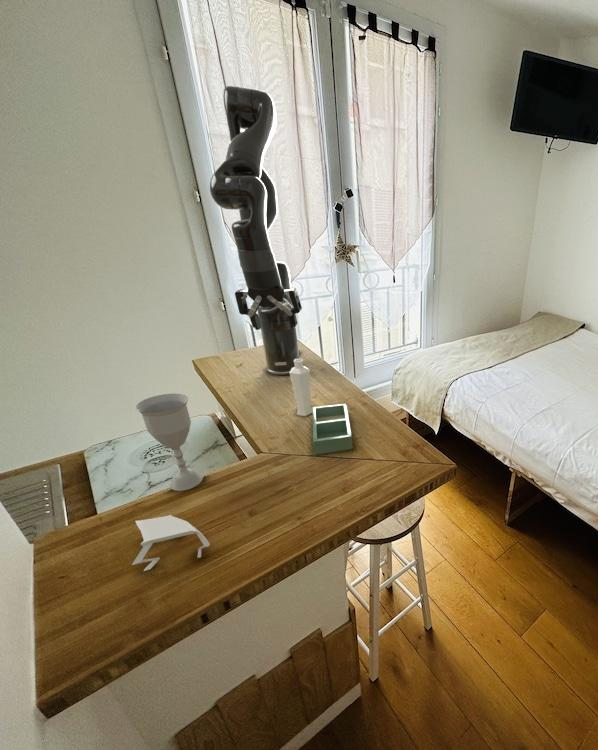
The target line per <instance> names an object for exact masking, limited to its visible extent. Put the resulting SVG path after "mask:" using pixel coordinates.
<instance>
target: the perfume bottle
mask: <svg viewBox="0 0 598 750" xmlns="http://www.w3.org/2000/svg"><path fill="white" fill-rule="evenodd" d="M299 358H300V357H299ZM294 364H295V367H293V368H292V369H291V371H290V372H289V373H290V374H289V377H290V381H291V386H292V389H293V393H294V398H295V403H296V407H297V412H296V415H297V416H303V417H307V416H309V415H310V414H311V415H312V394H311V393H312V389H311V369H309V368H308V367H306V366H305V365H304V359H303V358H302V357H301V358H300V359H294Z"/></svg>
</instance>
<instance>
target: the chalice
mask: <svg viewBox="0 0 598 750" xmlns="http://www.w3.org/2000/svg"><path fill="white" fill-rule="evenodd" d="M188 402H189V397H188V396H187V395H185V394H183V393H164V394H158V395H154V396H150V397H148V398H145V399H142V400H141V401H140V402H138V403H137V404H136V405H135V410H136V411H137V412H138V413H140V414H141V416H142V420H143V422H144V425H145V428H146V431H147V433H149V435H150V436H152V438H154V439H155V440H156V441H157V442H158V443H160V444H161V445H162V446H164V447H165V448H167V449H173V454H172V457H174V458H175V459H176V461H175V462H174V464H175V465H176V466H178V470H177V471H176V472H175V473H174V474H173V476H172V480H171V483H170V489H171V490H174V491H175V492H176V491H179V492H182V491H187V490H191V489H193V488H194V487H195V488H196V487H197V486H199V484H201V482H202V481H203V479H204V477H203V475H202V474H201V473H200V472H199V471H197V470H196V469H195V468H192V467H187V466H186V464H187V462H188V460H187V459H186V458H184V454H185V452H184V451H183V450H182V449H181V446H183V445H184V444H185V443H186V441H187V438H188V435H189V433H190V429H191V425H192V421H191V417H190V413H189V410H188V406H187V405H188Z"/></svg>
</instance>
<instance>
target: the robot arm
mask: <svg viewBox="0 0 598 750" xmlns="http://www.w3.org/2000/svg"><path fill="white" fill-rule="evenodd" d="M222 94H223V95H222V97H223V107H224V112H225V118H226V125H227V128H228V134H229V139H230V142H229V144H228V148H227V151H226V156H225V160H224V161H223V162H222V163H221V164H220V165H219V167H218V168H217V169H216V170H215V172H214V173H213V174H212V176H211V178H210V181H209V192H210V196H211V198H212V199H213V201H214V203H216V204H217V206H219V207H220V208H222V209H224V210H238V211H239V218H240V220H237V221H234V222H233V223H232V224H231V232H232V234H233V235H232V236H233V238H234V242H235V245H236V250H237V253H238V254H237V255H238V260H239V266H240V267H241V270H242V274H243V277H244V281H245V284H246V287H247V290H246V289H245V290H244V289H243V288H239V289H237V290H236V291H235V292H234V296H235V301H236V305H237V310H238V313H239V314H240V315H241V316H242V315H246V316H248V317H249V319H250V323H251V327H252V328H253V329H255V330H256V331H260V333H261V338H262V345H263V350H264V357H265V363H266V370H267V373H269V374H271V375H275V376H285V375H290V373H289V372H290V371H291V369H292V368H293V367H295V364H294V359H300V352H301V350H300V349H299V343H298V335H297V328H296V327H297V326H298V318H297V315H296V314H299V313H300V312H301V311H302V310H303V307H302V303H301V300H300V296H299V293H298V290H297V289H296V287H292V281H291V280H292V279H291V273H290V269H289V266H288V265H287V263H286V262H284V261H277V260H276V256H275V253H274V251H273V248H272V245H271V241H270V238H269V233H268V232H269V231H270V229H271V228H272V226H273V224H274V222H275V221H276V219H277V217H278V213H279V208H278V207H279V206H278V196H277V188H276V185H275V183H274V181H273V180H272V178H271V176H270V175H269V174H268V172H267V171H266V169H265V168H264V167H263V163H264V156H265V153H266V152H267V149H268V147H269V145H270V143H271V140H272V138H273V137H274V134H275V132H276V128H277V112H276V106H275V102H274V100H273V98H272V97H271V95H270V94H269V93H268V92H266V91H263V90H259V89H253V88H247V87H240V86H235V85H227V86H225V87H224V89H223V93H222ZM248 297H249V298H250V299H251V300H252V301H253V302H252V304H251V306H250V308H249V306H248V302H247V299H248Z"/></svg>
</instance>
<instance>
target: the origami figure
mask: <svg viewBox="0 0 598 750" xmlns="http://www.w3.org/2000/svg"><path fill="white" fill-rule="evenodd" d="M135 524H136V526H137V528H138V529H139V531H140V534H141V536H142V539H143V541H141V543H139V546H141V550H140V551H139V553H138V554H137V556H136V557H135V558H134V560H133V562H132V564H131V566H134V565H139V564H142V563H143V564H144V563H149V562H150V563H149V564H148V565H147V566H146V567H145V568H144V569H143V572H145V571H146V572H147V571H149V570H151V569H152V568H153V567H154V566H155V565H156V564H157V563H158V561H159V560H160V559H161V557H153V558H145V557H146V555H147V554H148V552H149V550H150V549H151V547H152V546H153V545H154V544H155V543H160V542H164V541H169V540H172V539H176V538H181V537H184V536H189V535H193V534H196V535H197V537H198V539H199V540H200V542H201V543H202V545H201V546H200V547H198V548H197V557H196V558H199V559H200V558H202V549H203V550H204V549H205V548H208V547H209V546H210V545H211V543H210V542H209V540H208V539H207V538H206V536H205V535H204V534H203V533H202V532H201V531H200V530H198V529H197V528H196V527H195V526H194V525H193V524H191V523H190V522H189V521H187V520H185V519H182V518H179V517H176V516H173V515H172V514H169V515H165V516H159V517H153V518H147V519H139V520H135Z"/></svg>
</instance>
